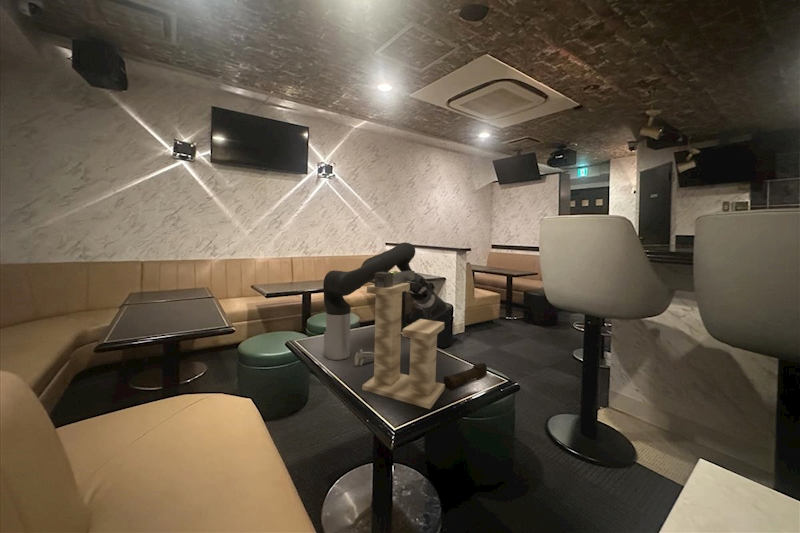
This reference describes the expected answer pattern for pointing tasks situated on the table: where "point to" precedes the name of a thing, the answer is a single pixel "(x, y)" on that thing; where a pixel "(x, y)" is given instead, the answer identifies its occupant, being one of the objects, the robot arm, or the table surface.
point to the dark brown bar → (466, 376)
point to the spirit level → (392, 278)
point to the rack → (387, 352)
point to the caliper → (363, 356)
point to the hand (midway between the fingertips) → (408, 278)
